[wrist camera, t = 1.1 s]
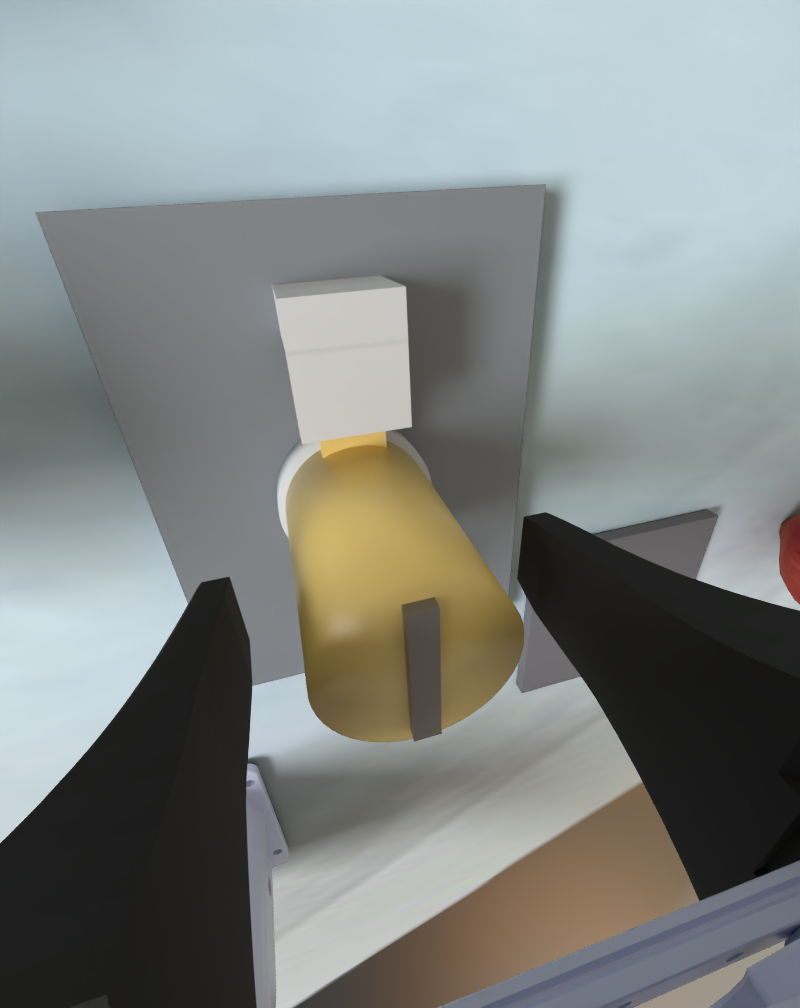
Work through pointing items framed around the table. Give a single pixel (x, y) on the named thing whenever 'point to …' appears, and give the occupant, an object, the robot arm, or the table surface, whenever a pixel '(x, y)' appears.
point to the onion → (790, 555)
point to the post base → (241, 375)
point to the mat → (657, 542)
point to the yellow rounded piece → (391, 597)
